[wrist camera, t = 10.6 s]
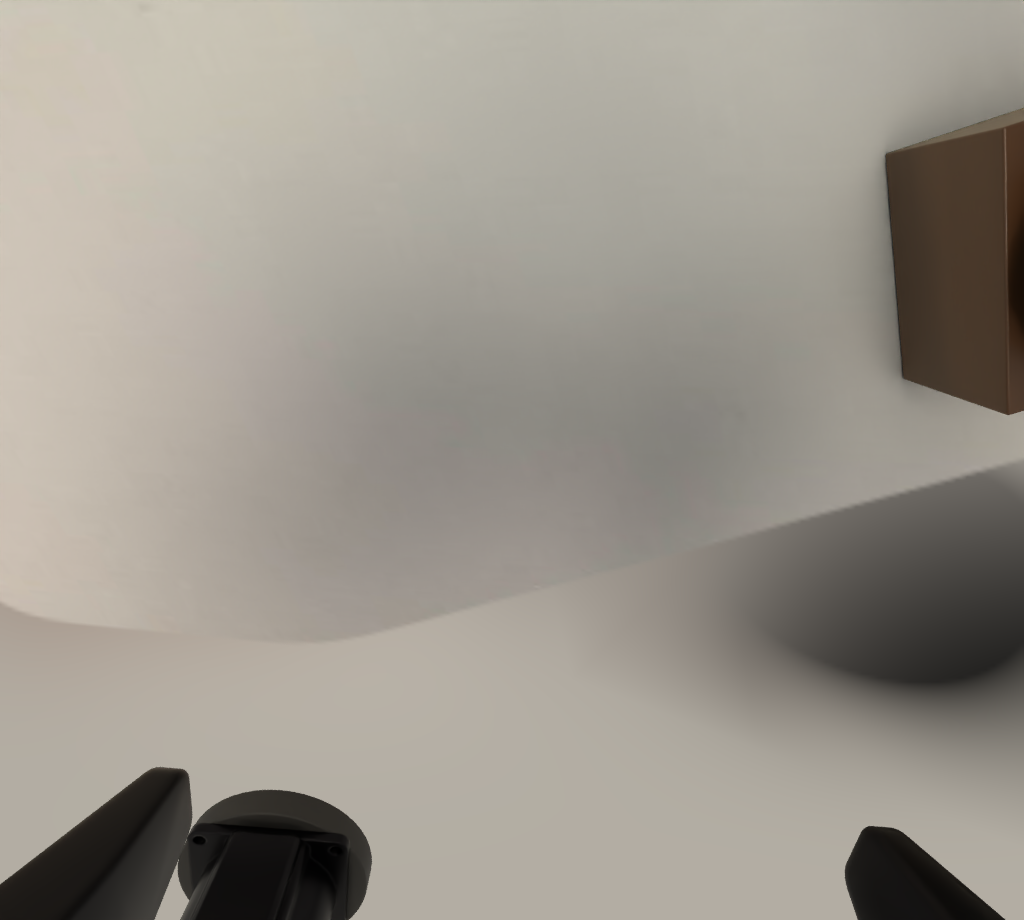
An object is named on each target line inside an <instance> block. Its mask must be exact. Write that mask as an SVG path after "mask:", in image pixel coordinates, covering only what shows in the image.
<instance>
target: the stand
mask: <svg viewBox="0 0 1024 920" xmlns="http://www.w3.org/2000/svg"><path fill="white" fill-rule="evenodd" d="M886 162H887V175H888V187H889V200H890V213H891V225H892V238H893V250H894V263H895V275H896V288H897V300H898V313H899V325H900V338H901V350H902V363H903V376H904V379H905V380H908V381H911V382H914V383H917V384H920V385H923V386H926V387H928V388H931V389H934V390H937V391H940V392H943V393H946V394H949V395H951V396H954V397H957V398H960V399H963V400H966V401H969V402H972V403H975V404H977V405H980V406H983V407H986V408H989V409H992V410H995V411H998V412H1000V413H1003V414H1006V415H1010V414H1014V413H1017V412H1021V411H1024V108H1021V109H1018V110H1015V111H1012V112H1009V113H1006V114H1003V115H1000V116H997V117H994V118H991V119H988V120H985V121H982V122H979V123H976V124H973V125H970V126H967V127H964V128H961V129H958V130H955V131H952V132H949V133H946V134H943V135H940V136H937V137H934V138H931V139H928V140H925V141H922V142H919V143H916V144H913V145H910V146H907V147H904V148H901V149H898V150H895V151H892V152H889V153H887V154H886Z"/></svg>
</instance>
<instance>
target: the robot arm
mask: <svg viewBox="0 0 1024 920" xmlns="http://www.w3.org/2000/svg"><path fill="white" fill-rule="evenodd" d="M191 822H192V805H191V793H190V783H189V776H188V773H187V772H186V771H185V770H183V769H175V768H164V767H156V768H153V769H150V770H149V771H147V772H145V773H144V774H143V775H141V776H140V777H139V778H138V779H136V780H135V781H134V782H132V783H131V784H130V785H128V787H126V788H125V789H123V790H122V791H121V792H120V793H118V794H117V795H116V796H114V797H113V798H112V799H111V800H109V801H108V802H106V803H105V804H104V805H103V806H101V807H100V808H99V809H98V810H96V811H95V812H93V813H92V814H91V815H90V816H89V817H87V818H86V819H84V820H83V821H82V822H81V823H79V824H78V825H77V826H75V827H74V828H73V829H71V830H70V831H69V832H68V833H67V834H65V835H64V836H62V837H61V838H60V839H59V840H57V841H56V842H55V843H53V844H52V845H51V846H50V847H48V848H47V849H46V850H45V851H43V852H42V853H40V854H39V855H38V856H36V857H35V858H34V859H33V860H31V861H30V862H29V863H27V864H26V865H25V866H23V867H22V868H21V869H20V870H18V871H17V872H16V873H15V874H13V875H12V876H11V877H9V878H8V879H7V880H5V881H4V882H3V883H1V884H0V920H154V919H155V917H156V914H157V911H158V909H159V907H160V904H161V902H162V899H163V896H164V894H165V891H166V889H167V887H168V884H169V881H170V879H171V877H172V874H173V872H174V869H175V866H176V864H177V862H178V859H179V857H180V854H181V852H182V849H183V847H184V844H185V842H186V839H187V844H188V855H189V865H190V876H191V887H192V896H191V898H190V900H189V903H188V905H187V907H186V909H185V911H184V913H183V915H182V917H181V919H180V920H347V901H348V879H349V856H350V840H349V838H348V837H347V836H345V835H343V834H340V833H329V832H316V831H303V830H291V829H278V828H265V827H252V826H240V825H227V824H214V823H198V824H195V825H194V826H193V828H192V829H191V831H190V833H189V830H190V827H191ZM188 834H189V835H188ZM845 880H846V885H847V889H848V892H849V895H850V898H851V901H852V904H853V907H854V910H855V912H856V916H857V919H858V920H1005V919H1004V918H1003V917H1001V916H1000V915H999V914H998V913H997V912H996V911H995V910H993V909H992V908H991V907H990V906H989V905H988V904H986V903H985V902H984V901H983V900H982V899H980V898H979V897H978V896H977V895H976V894H974V893H973V892H972V891H971V890H970V889H969V888H968V887H966V886H965V885H964V884H963V883H962V882H961V881H959V880H958V879H957V878H956V877H954V876H953V875H952V874H951V873H950V872H949V871H948V870H946V869H945V868H944V867H943V866H942V865H941V864H939V863H938V862H937V861H936V860H935V859H934V858H932V857H931V856H930V855H929V854H928V853H926V852H925V851H924V850H923V849H922V848H920V847H919V846H918V845H917V844H916V843H915V842H914V841H912V840H911V839H910V838H909V837H907V836H906V835H905V834H904V833H903V832H901V831H899V830H897V829H894V828H888V827H875V826H868V827H866V828H865V829H863V830H862V832H861V834H860V836H859V838H858V840H857V842H856V844H855V846H854V848H853V850H852V853H851V855H850V857H849V859H848V861H847V863H846V866H845Z"/></svg>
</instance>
